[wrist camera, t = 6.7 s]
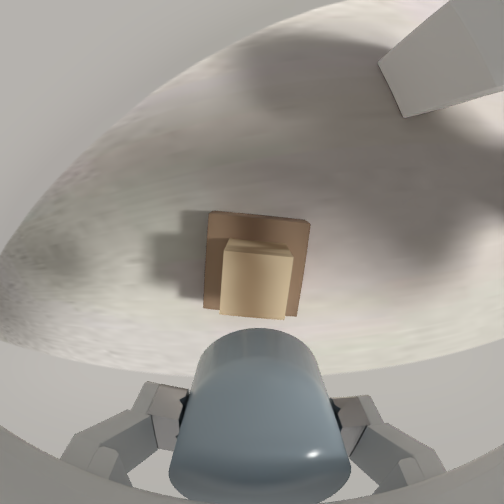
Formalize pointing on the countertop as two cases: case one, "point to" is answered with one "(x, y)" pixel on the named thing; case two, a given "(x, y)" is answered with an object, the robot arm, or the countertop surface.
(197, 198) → the countertop surface
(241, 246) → the oak cube
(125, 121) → the countertop surface
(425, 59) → the milk carton
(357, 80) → the countertop surface
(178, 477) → the ceramic cylinder
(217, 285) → the walnut pedestal
